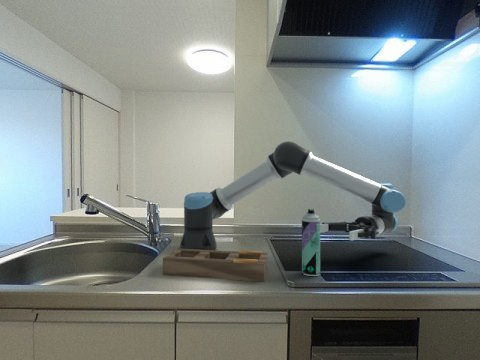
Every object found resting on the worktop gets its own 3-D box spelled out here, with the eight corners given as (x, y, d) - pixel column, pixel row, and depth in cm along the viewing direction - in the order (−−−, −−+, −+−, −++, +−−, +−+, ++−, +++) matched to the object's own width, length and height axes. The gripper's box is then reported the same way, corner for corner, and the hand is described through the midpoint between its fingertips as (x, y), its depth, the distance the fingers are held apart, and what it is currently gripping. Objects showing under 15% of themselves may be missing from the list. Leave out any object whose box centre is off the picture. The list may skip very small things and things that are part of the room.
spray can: (306, 270, 88) (306, 207, 88) (323, 273, 85) (323, 208, 85) (298, 274, 84) (298, 209, 84) (315, 278, 80) (315, 210, 80)
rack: (178, 262, 96) (178, 247, 96) (267, 268, 90) (267, 251, 90) (162, 274, 84) (162, 256, 84) (264, 281, 78) (264, 262, 78)
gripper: (403, 242, 91) (367, 252, 79) (339, 231, 112) (303, 237, 100) (403, 220, 91) (367, 226, 79) (339, 212, 112) (303, 216, 100)
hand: (331, 232), depth 90 cm, fingers open, 13 cm apart
